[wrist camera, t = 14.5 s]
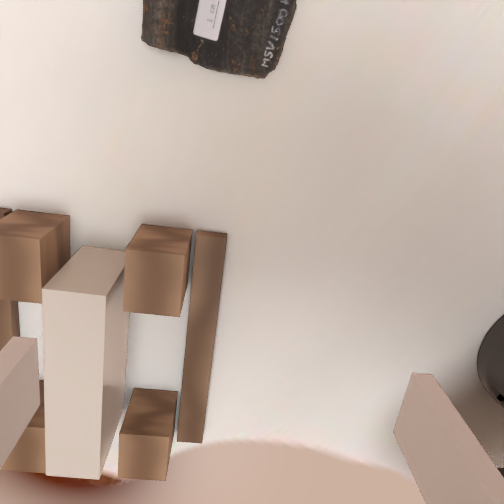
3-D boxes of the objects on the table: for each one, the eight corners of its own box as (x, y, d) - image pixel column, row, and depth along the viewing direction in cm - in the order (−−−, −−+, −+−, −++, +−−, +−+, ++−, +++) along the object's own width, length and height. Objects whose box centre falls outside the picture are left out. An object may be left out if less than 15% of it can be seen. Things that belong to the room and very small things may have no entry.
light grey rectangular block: (133, 251, 44) (106, 296, 34) (124, 407, 51) (99, 479, 41) (83, 245, 43) (41, 288, 34) (80, 403, 50) (46, 475, 41)
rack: (226, 233, 43) (225, 260, 37) (202, 433, 52) (198, 483, 46) (-21, 205, 41) (-69, 227, 35) (-1, 418, 50) (-36, 467, 44)
